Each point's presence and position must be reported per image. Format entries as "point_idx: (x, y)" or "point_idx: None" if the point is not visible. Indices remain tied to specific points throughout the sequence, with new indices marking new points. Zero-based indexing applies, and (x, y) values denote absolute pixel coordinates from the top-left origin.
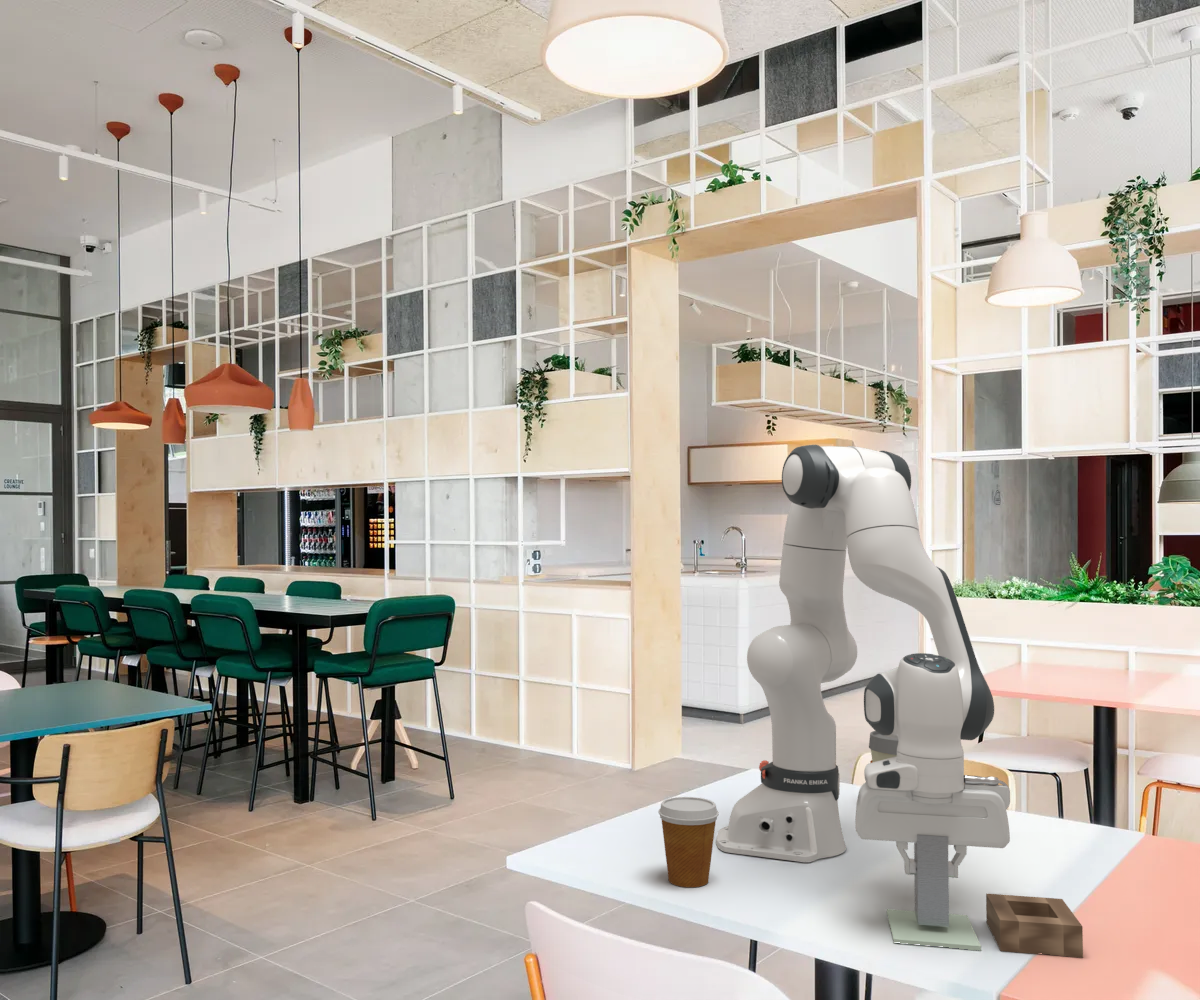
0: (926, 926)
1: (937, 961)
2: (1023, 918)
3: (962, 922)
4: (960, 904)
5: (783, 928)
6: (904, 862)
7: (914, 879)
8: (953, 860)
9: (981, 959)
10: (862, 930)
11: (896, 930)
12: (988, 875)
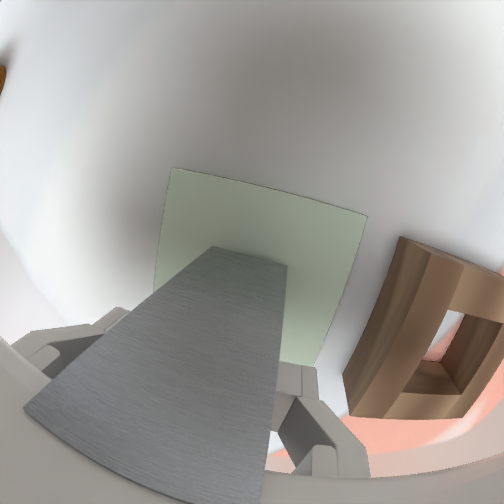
0: None
1: None
2: (402, 406)
3: (333, 263)
4: (387, 114)
5: (29, 247)
6: (102, 318)
7: (176, 274)
8: (292, 424)
9: None
10: (112, 264)
11: None
12: (466, 6)
